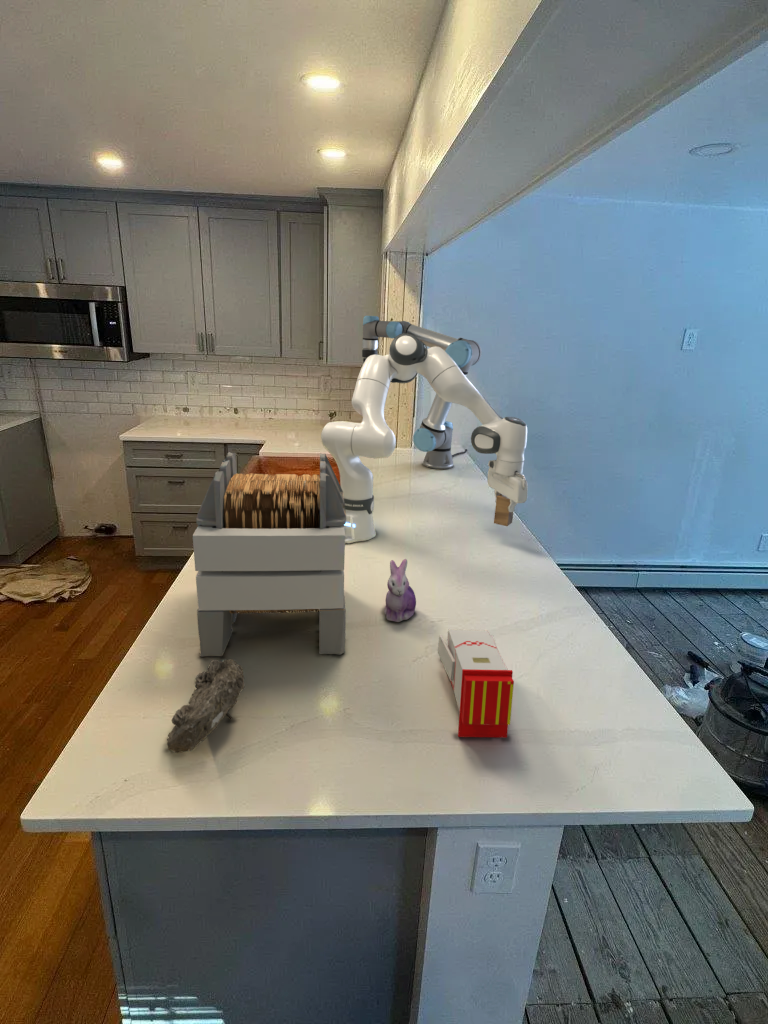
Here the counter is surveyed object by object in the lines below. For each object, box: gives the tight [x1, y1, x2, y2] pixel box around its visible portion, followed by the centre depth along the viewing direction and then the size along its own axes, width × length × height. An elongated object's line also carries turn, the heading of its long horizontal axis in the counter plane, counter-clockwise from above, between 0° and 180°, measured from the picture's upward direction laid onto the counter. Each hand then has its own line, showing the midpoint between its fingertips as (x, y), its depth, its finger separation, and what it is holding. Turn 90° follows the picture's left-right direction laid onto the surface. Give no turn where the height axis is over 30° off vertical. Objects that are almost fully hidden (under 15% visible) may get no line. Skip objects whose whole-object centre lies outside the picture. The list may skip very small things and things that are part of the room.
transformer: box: [192, 452, 347, 658], centre depth 136 cm, size 34×33×41 cm
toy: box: [437, 628, 515, 738], centre depth 117 cm, size 12×13×30 cm
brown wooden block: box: [493, 494, 514, 527], centre depth 190 cm, size 5×5×10 cm
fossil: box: [166, 658, 245, 754], centre depth 106 cm, size 22×10×15 cm
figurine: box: [384, 558, 417, 623], centre depth 145 cm, size 9×10×15 cm
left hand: (504, 507), depth 190 cm, fingers closed on brown wooden block, 7 cm apart
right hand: (368, 393), depth 284 cm, fingers open, 13 cm apart
